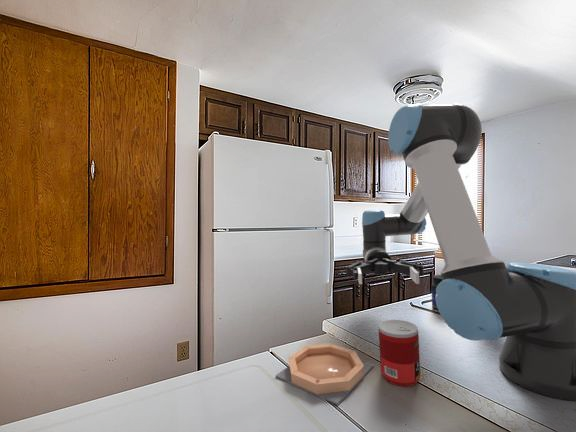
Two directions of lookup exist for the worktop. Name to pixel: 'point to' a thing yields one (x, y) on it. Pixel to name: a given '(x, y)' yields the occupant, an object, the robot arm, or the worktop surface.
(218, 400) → the worktop surface
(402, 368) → the canned food
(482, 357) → the worktop surface
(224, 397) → the worktop surface
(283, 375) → the mat
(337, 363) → the bowl
